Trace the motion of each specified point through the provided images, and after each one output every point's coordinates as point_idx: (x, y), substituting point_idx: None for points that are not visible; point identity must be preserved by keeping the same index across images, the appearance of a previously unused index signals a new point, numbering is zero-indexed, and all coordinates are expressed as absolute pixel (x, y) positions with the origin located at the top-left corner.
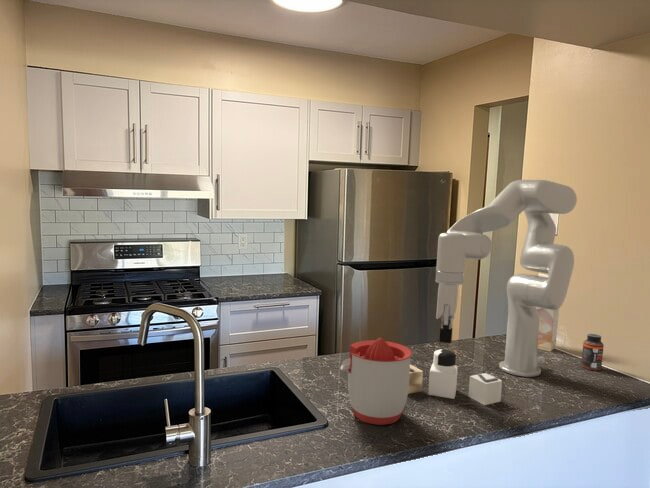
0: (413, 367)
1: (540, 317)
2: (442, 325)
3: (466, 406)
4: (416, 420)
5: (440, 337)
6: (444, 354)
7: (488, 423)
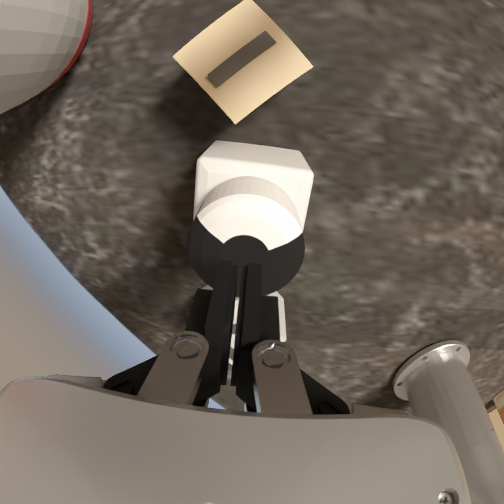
0: (271, 81)
1: None
2: (159, 363)
3: (172, 247)
4: (48, 127)
5: (215, 279)
6: (198, 251)
7: (105, 283)
